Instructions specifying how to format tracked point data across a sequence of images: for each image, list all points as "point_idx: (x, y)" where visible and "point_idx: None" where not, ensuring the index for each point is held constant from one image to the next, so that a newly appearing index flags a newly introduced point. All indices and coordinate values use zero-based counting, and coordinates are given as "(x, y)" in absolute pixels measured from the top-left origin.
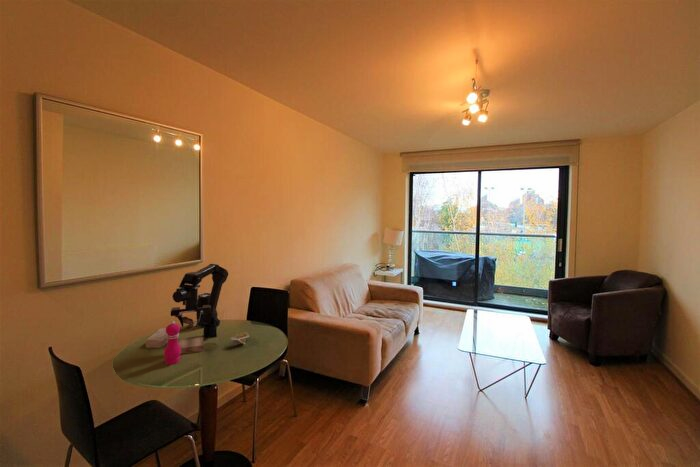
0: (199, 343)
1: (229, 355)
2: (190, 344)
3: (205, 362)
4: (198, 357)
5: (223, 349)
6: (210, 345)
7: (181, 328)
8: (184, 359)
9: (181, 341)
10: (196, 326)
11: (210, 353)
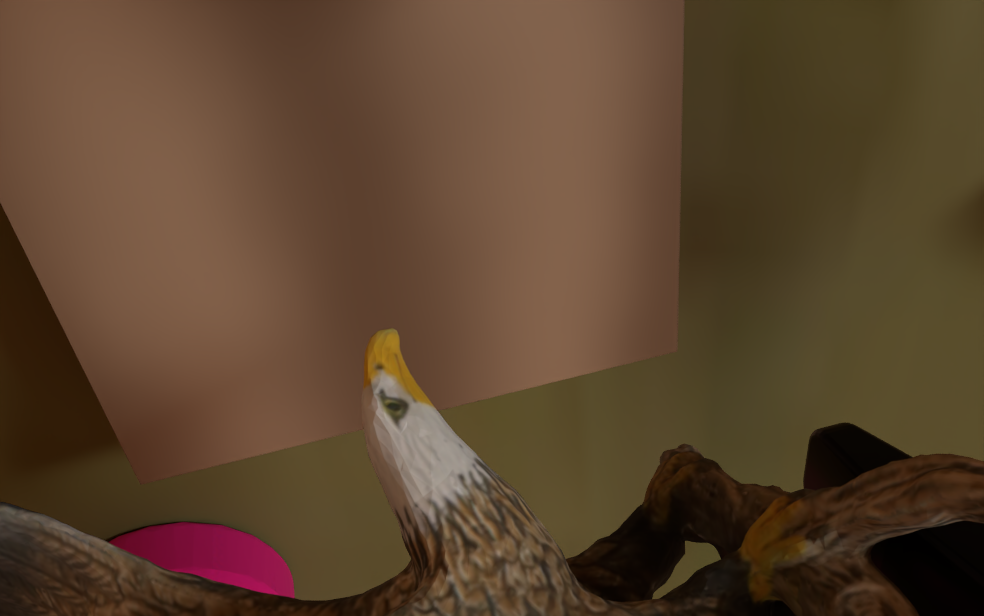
0: (596, 262)
1: (981, 422)
2: (393, 304)
3: (660, 587)
4: (562, 482)
5: (966, 235)
6: (781, 25)
7: (19, 523)
8: (356, 540)
9: (66, 109)
10: (702, 540)
11: (743, 366)
